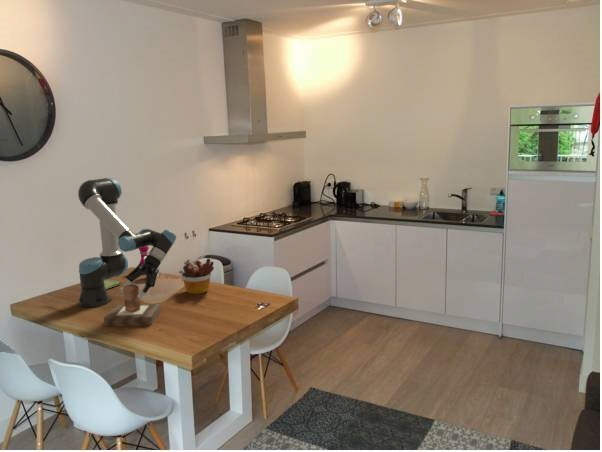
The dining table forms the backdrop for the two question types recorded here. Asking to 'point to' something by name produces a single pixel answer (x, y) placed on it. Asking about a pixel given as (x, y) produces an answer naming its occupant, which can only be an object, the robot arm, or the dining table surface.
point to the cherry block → (131, 298)
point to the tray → (132, 315)
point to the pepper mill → (143, 253)
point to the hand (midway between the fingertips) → (130, 295)
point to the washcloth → (111, 283)
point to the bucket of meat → (197, 276)
